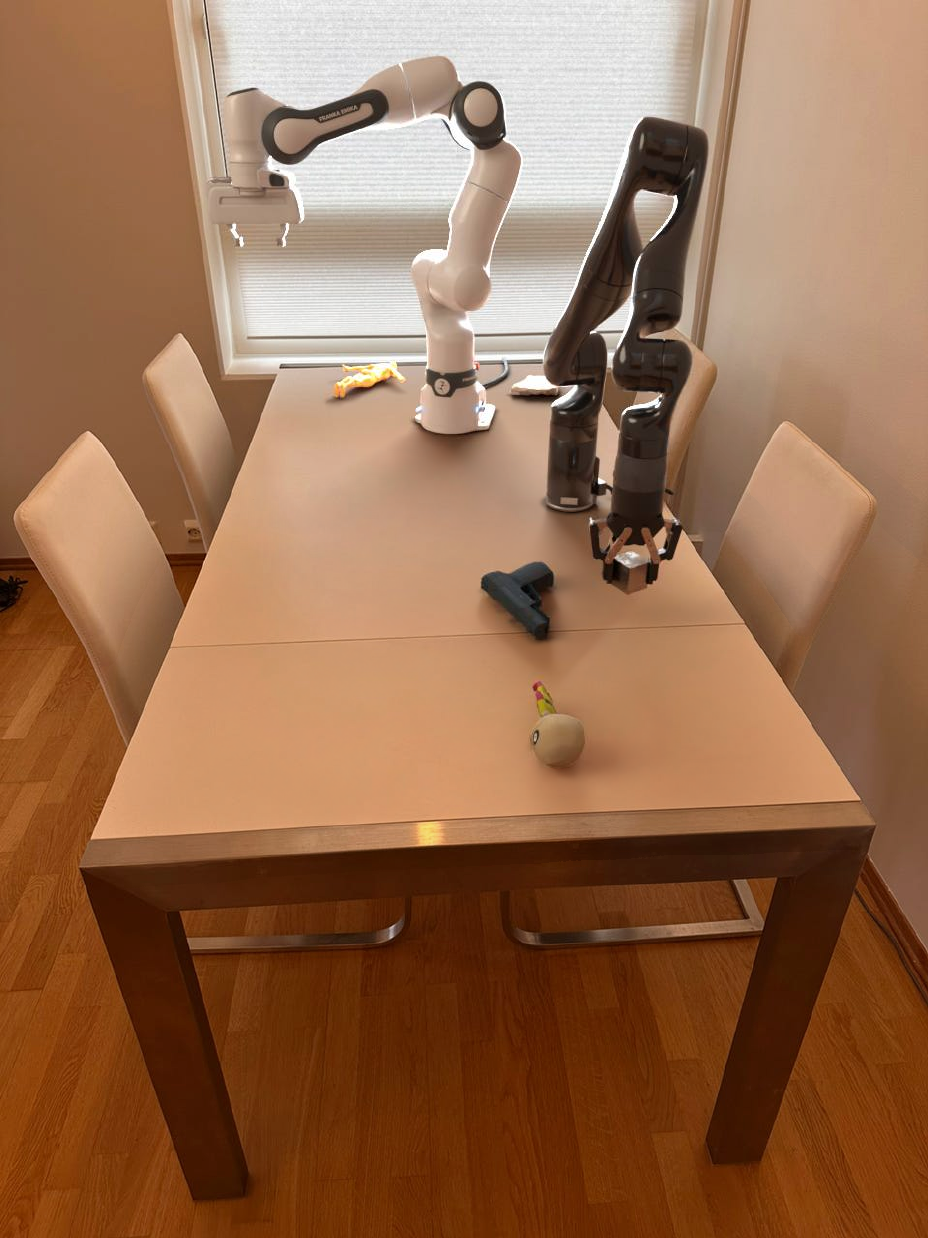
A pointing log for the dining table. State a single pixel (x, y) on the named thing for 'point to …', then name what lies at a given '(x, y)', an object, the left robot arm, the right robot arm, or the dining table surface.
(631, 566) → the block
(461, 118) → the left robot arm
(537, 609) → the handgun
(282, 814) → the dining table surface
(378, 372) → the human figure
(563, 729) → the toy
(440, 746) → the dining table surface
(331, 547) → the dining table surface
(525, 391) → the stone
